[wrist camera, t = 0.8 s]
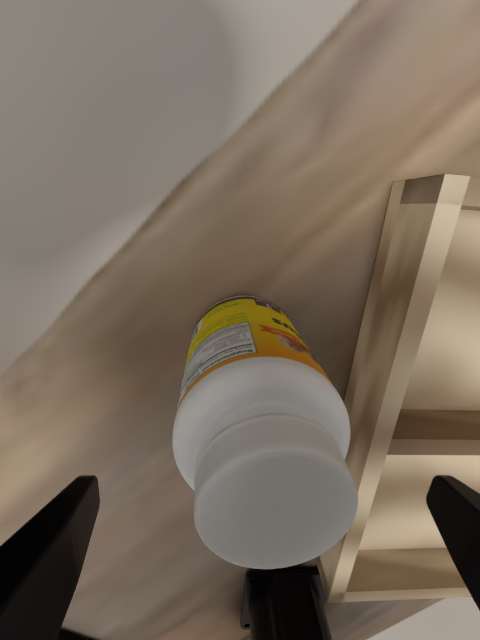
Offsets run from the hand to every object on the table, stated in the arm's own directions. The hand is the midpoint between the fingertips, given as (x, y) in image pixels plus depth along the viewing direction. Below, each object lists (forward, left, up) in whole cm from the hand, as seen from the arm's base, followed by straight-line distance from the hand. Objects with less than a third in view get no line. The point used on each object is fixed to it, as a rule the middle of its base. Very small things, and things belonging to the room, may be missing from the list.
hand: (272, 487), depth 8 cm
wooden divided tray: (-4, -13, -9) cm, 16 cm away
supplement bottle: (0, 0, -10) cm, 10 cm away
